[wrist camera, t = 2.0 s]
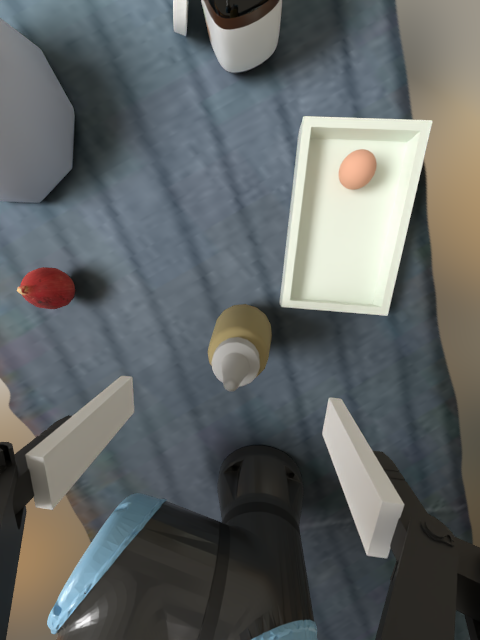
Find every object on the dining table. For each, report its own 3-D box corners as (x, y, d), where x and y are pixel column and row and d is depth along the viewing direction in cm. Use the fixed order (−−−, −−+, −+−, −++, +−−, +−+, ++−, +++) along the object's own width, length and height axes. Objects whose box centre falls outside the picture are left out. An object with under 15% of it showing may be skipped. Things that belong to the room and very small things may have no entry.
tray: (375, 310, 34) (387, 315, 30) (279, 303, 34) (281, 306, 31) (413, 136, 28) (432, 120, 25) (298, 132, 29) (303, 116, 26)
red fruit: (94, 298, 37) (49, 307, 29) (63, 308, 37) (13, 320, 30) (77, 262, 35) (26, 261, 28) (46, 274, 36) (-11, 276, 28)
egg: (363, 194, 29) (379, 184, 26) (331, 193, 30) (342, 182, 26) (369, 159, 28) (387, 142, 25) (336, 157, 29) (349, 141, 25)
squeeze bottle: (208, 322, 36) (160, 376, 19) (247, 289, 34) (236, 315, 17) (241, 359, 37) (226, 444, 20) (281, 329, 35) (303, 393, 18)
